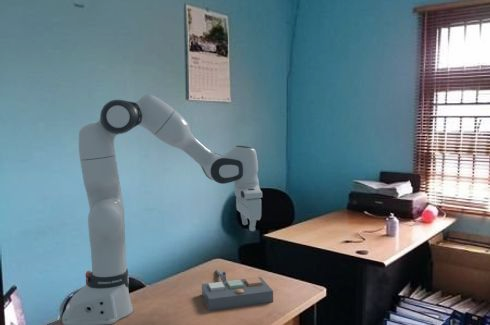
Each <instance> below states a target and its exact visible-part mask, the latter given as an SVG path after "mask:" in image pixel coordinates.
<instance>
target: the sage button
mask: <svg viewBox="0 0 490 325" xmlns="http://www.w3.org/2000/svg"><path fill="white" fill-rule="evenodd" d="M226 281H227V286H228V288H229V289H236V288H244V284H243V283H242V282H241V279H233V280H226Z"/></svg>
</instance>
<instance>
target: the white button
mask: <svg viewBox="0 0 490 325" xmlns="http://www.w3.org/2000/svg"><path fill="white" fill-rule="evenodd" d="M208 288H209V290H210V292H212V291H220V290H225V286H224V285H223V283H222V281H218V282H217V281H216V282H209V283H208Z"/></svg>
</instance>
